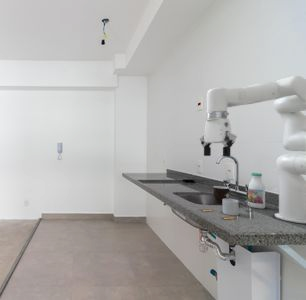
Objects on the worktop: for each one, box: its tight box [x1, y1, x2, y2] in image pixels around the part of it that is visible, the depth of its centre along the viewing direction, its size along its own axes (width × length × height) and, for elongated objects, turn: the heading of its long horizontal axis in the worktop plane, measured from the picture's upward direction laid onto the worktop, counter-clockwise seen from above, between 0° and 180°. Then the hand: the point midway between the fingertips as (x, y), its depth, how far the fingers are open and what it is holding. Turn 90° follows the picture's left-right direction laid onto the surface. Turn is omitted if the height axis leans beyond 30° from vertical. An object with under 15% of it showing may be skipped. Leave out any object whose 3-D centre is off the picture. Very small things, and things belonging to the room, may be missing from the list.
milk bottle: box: [247, 172, 266, 209], centre depth 122 cm, size 8×8×20 cm
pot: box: [221, 198, 240, 216], centre depth 109 cm, size 7×7×7 cm
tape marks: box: [201, 209, 236, 220], centre depth 107 cm, size 6×14×1 cm, turn 13°
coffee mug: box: [212, 185, 231, 205], centre depth 130 cm, size 12×9×10 cm
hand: (216, 156), depth 90 cm, fingers open, 9 cm apart
